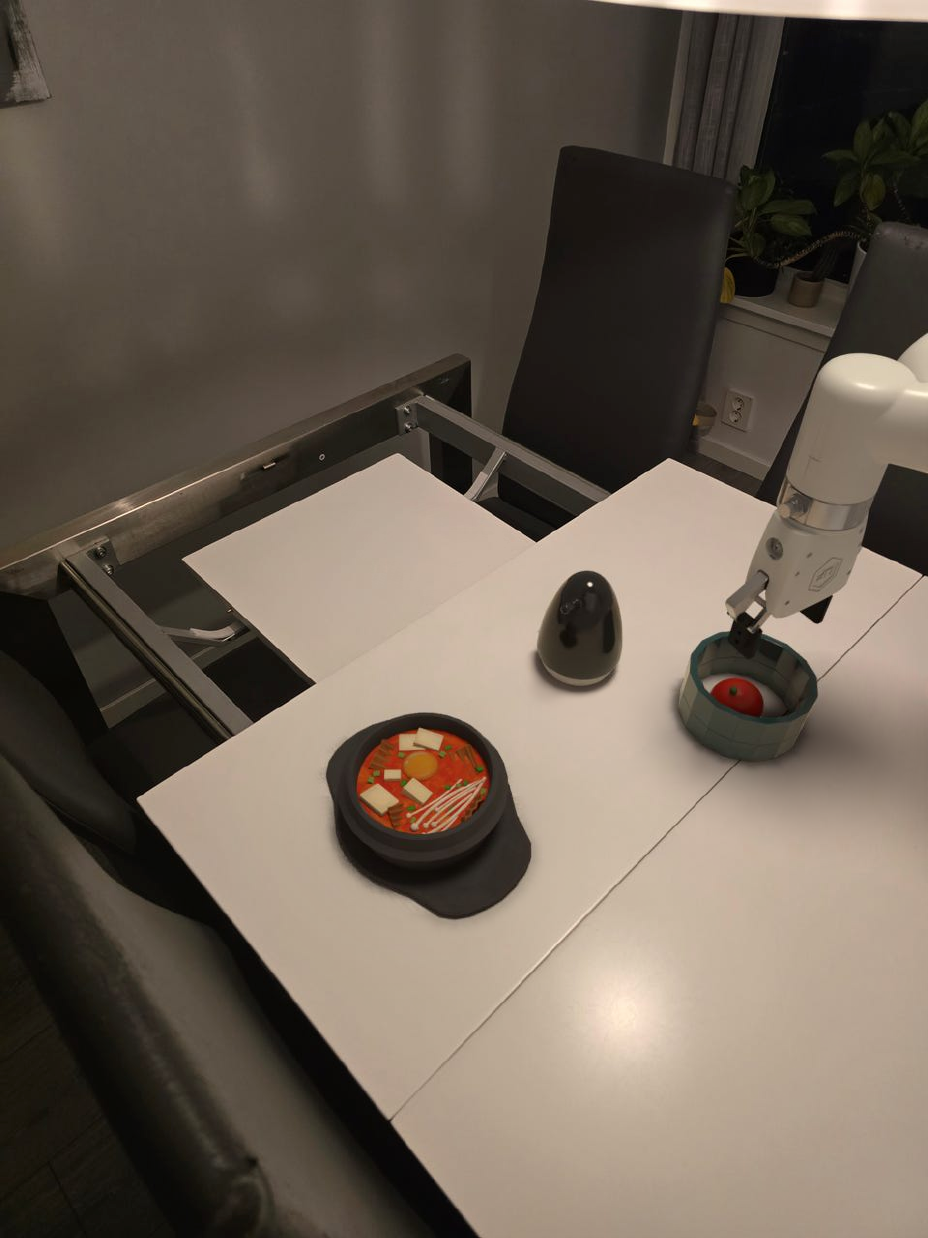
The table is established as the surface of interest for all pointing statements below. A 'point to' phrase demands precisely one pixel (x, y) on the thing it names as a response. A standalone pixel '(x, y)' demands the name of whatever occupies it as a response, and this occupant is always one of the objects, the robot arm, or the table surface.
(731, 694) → the tomato
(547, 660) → the black egg shape
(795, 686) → the green cylindrical ring
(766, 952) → the table surface
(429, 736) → the casserole
